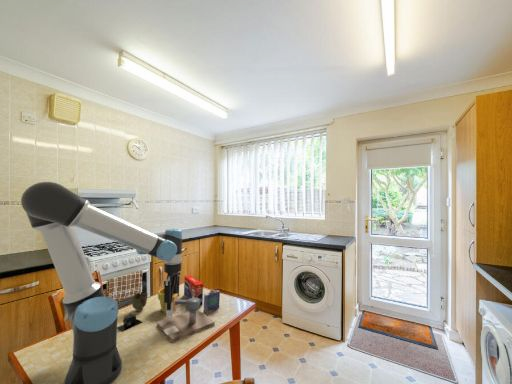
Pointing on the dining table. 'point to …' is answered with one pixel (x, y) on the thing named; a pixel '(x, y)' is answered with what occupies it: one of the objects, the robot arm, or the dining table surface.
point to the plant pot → (162, 299)
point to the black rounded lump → (129, 323)
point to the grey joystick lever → (186, 303)
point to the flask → (211, 300)
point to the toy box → (193, 288)
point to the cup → (139, 301)
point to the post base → (184, 325)
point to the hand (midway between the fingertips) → (171, 313)
